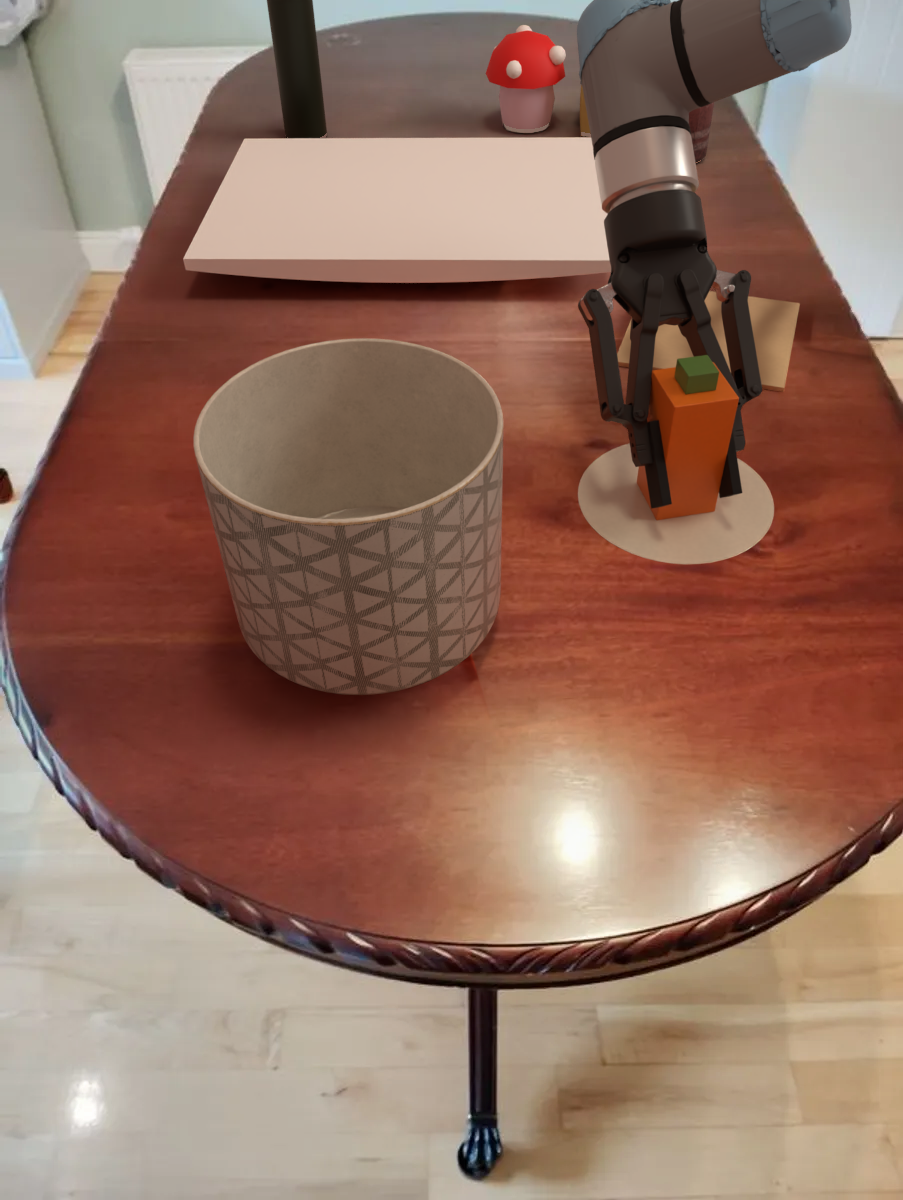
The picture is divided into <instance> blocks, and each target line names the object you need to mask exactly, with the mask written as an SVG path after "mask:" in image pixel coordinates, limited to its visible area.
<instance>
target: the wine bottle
mask: <svg viewBox="0 0 903 1200" xmlns="http://www.w3.org/2000/svg"><path fill="white" fill-rule="evenodd" d="M266 4H267V5H266V6H267V13H268V19H269V28H270V34H271V35H270V36H271V40H272V41H271V42H272V48H273V55H274V63H275V69H276V70H275V71H276V78H277V84H278V91H279V99H280V107H281V113H282V122H283V127H284V134H285V135H286V136H285V138H286V137H288V138H320V137H322V136H324V135H325V134H326V133H327V134H328V130H327V120H326V111H325V110H326V109H325V102H324V93H323V84H322V73H321V65H320V55H319V48H318V47H319V45H318V39H317V37H318V36H317V27H316V20H315V19H316V18H315V10H314V1H313V0H266Z"/></svg>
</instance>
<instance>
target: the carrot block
mask: <svg viewBox="0 0 903 1200" xmlns="http://www.w3.org/2000/svg"><path fill="white" fill-rule="evenodd" d="M651 377H652V381H651V392H650V402H649V413H648V418H647V422H649V421H655V420H659V425H660V431H661V438H662V444H663V451H664V457H665V463H666V469H667V475H668V482H669V488H670V495H671V501H672V504H670V505H667V506H663V507H659V508H652V509H651V504H650V497H649V491H648V484H647V478H646V471H645V466H639V469H638V476H637V484H638V486H639V488H640V490H641V492H642V494H643V496H644V498H645V499H646V501H647V503H648V505H649V507H650V509H651V511H652V513H653V515H654V517H655V519H656V520H663V519H669V518H675V517H682V516H688V515H694V514H701V513H707V512H714V511H715V507H716V503H717V498H718V493H719V489H720V484H721V479H722V475H723V470H724V466H725V461H726V456H727V452H728V447H729V442H730V438H731V433H732V429H733V424H734V419H735V415H736V410H737V405H738V401H739V397H738V396H737V394H736V393H735V392H734V390H733V389H732V387H731V386H730V384H729V383H728V382H727V380H726V379H725V377H724V376H723V375H722V373H721V372H720V370H719V369H718V367H717V366H716V365H715V363H714V362H712V361H711V359H710V358H709V356H708V355H702V356H695V357H687V358H680V359H677V363H676V367H674V368H666V369H659V370H653V371H652V375H651Z"/></svg>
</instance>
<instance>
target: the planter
mask: <svg viewBox="0 0 903 1200" xmlns="http://www.w3.org/2000/svg"><path fill="white" fill-rule="evenodd" d="M504 424H505V423H504V414H503V409H502V405H501V402H500V400H499V397H498V395H497V394H496V392H495V390H494V388H493V387H492V386H491V384H489V382H488V381H487V380H486V379H485V378H484V377H483V376H482V375H481V374H480V373H479V372H478V371H477V370H475V369H474V368H473V367H471V366H470V365H468V364H467V363H465V362H464V361H462V360H460V359H458V358H456V357H454V356H452V355H451V354H448V353H446V352H443V351H441V350H438V349H436V348H432V347H429V346H425V345H422V344H418V343H413V342H409V341H403V340H397V339H396V340H395V339H387V338H371V337H370V338H367V337H363V338H362V337H361V338H343V339H342V338H341V339H332V340H325V341H320V342H314V343H308V344H305V345H301V346H300V345H299V346H296V347H292V348H290V349H286V350H283V351H281V352H278V353H275V354H272V355H270V356H268V357H265V358H263V359H260V360H259V361H257V362H255V363H252V364H251V365H249V366H247V367H246V368H244V369H242V370H240V371H239V372H238V373H236V374H235V375H233V376H231V378H229V379H228V380H227V381H226V382H225V383H224V384H222V385H221V386H220V387H219V388H217V390H216V391H215V392H214V393H213V394H212V395H211V396H210V398H209V399H208V400H207V402H206V403H205V405H204V406H203V408H202V409H201V411H200V412H199V415H198V417H197V419H196V423H195V426H194V431H193V451H194V457H195V461H196V464H197V469H198V472H199V477H200V479H201V484H202V487H203V492H204V496H205V500H206V503H207V506H208V510H209V515H210V518H211V522H212V527H213V530H214V535H215V538H216V542H217V545H218V549H219V553H220V557H221V561H222V566H223V568H224V572H225V576H226V580H227V584H228V587H229V588H228V589H229V592H230V595H231V600H232V603H233V607H234V610H235V615H236V619H237V621H238V622H237V623H238V626H239V629H240V632H241V635H242V637H243V639H244V640H245V642H246V644H247V645H248V647H249V648H250V650H251V652H252V653H253V654H254V655H255V656H256V657H257V658H258V660H260V662H262V664H264V665H265V666H266V667H267V668H269V669H270V670H272V671H273V672H275V674H277V675H278V676H281V677H282V678H284V679H286V680H288V681H290V682H292V683H295V684H298V685H300V686H303V687H306V688H307V689H311V690H315V691H319V692H324V693H330V694H336V695H347V696H370V695H380V694H381V695H382V694H388V693H394V692H398V691H402V690H407V689H411V688H413V687H416V686H420V685H423V684H426V683H427V682H430V681H432V680H434V679H437V678H439V677H440V676H442V675H444V674H446V673H447V672H449V671H451V670H452V669H454V668H455V667H457V666H458V665H460V664H461V663H462V662H464V661H465V660H466V659H467V658H468V657H469V656H470V655H472V654H473V653H474V652H475V651H476V650H477V649H478V648H479V646H480V645H482V643H483V642H484V640H485V639H486V637H488V635H489V633H490V631H491V629H492V627H493V625H494V623H495V621H496V618H497V615H498V613H499V608H500V604H501V594H502V593H501V591H502V589H501V588H502V541H503V539H502V536H503V535H502V533H503V532H502V531H503V480H504V477H503V475H504V426H505V425H504Z"/></svg>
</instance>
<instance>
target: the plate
mask: <svg viewBox="0 0 903 1200" xmlns="http://www.w3.org/2000/svg"><path fill="white" fill-rule="evenodd" d="M737 461H738V467H739V474H740V480H741V487H742V493H741V494H737V495H733V496H729V497H723V498H720V497H719V493H718V498H717V503H716V507H715V511H714V512H707V513H701V514H694V515H688V516H682V517H675V518H669V519H663V520H656V519H655V517H654V515H653V513H652V511H651V509H650V507H649V505H648V503H647V501H646V499H645V498H644V496H643V494H642V492H641V490H640V488H639V486H638V484H637V476H638V469H639V467H635V465H634V463H633V461H632V456H631V448H630V443H625V444H622V445H620V446H617V447H614V448H612V449H610V450H608V451H606V452H604V453H602V454H601V455H600V456H598V457H597V458H595V459H594V460H593V461H592V462H591V463H590V464H589V465H588V466H587V468H586V469H585V470H584V472H583V473H582V476H581V477H580V480H579V483H578V487H577V500H578V506H579V508H580V511H581V513H582V516H583V517H584V519H585V520H586V522H587V523H588V525H589V526H590V527H591V528H592V529H593V530H594V531H595V532H596V533H597V534H598V535H599V536H601V537H602V538H603V539H604V540H606V541H607V542H608V543H610V544H612V545H613V546H614V547H617V548H618V549H621V550H623V551H625V552H627V553H629V554H630V555H631V554H632V555H634V556H637V557H640V558H643V559H646V560H651V561H655V562H658V563H659V562H660V563H666V564H672V565H673V564H674V565H701V564H711V563H716V562H720V561H724V560H728V559H731V558H734V557H737V556H738V555H741V554H743V553H745V552H746V551H749V550H750V549H751V548H753V547H754V546H756V545H757V544H758V543H759V542H760V541H761V540H763V538H764V537H765V535H767V534H768V532H769V530H770V528H771V526H772V523H773V520H774V516H775V504H774V498H773V495H772V493H771V490H770V488H769V487H768V485H767V483H766V481H764V479H763V478H762V476H761V475H760V474H759V473H758V472H756V470H754V468H753V467H751V466H750V465H748V464H747V463H746V462H745V461H743V460H741V459H740V458H738V457H737Z"/></svg>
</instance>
